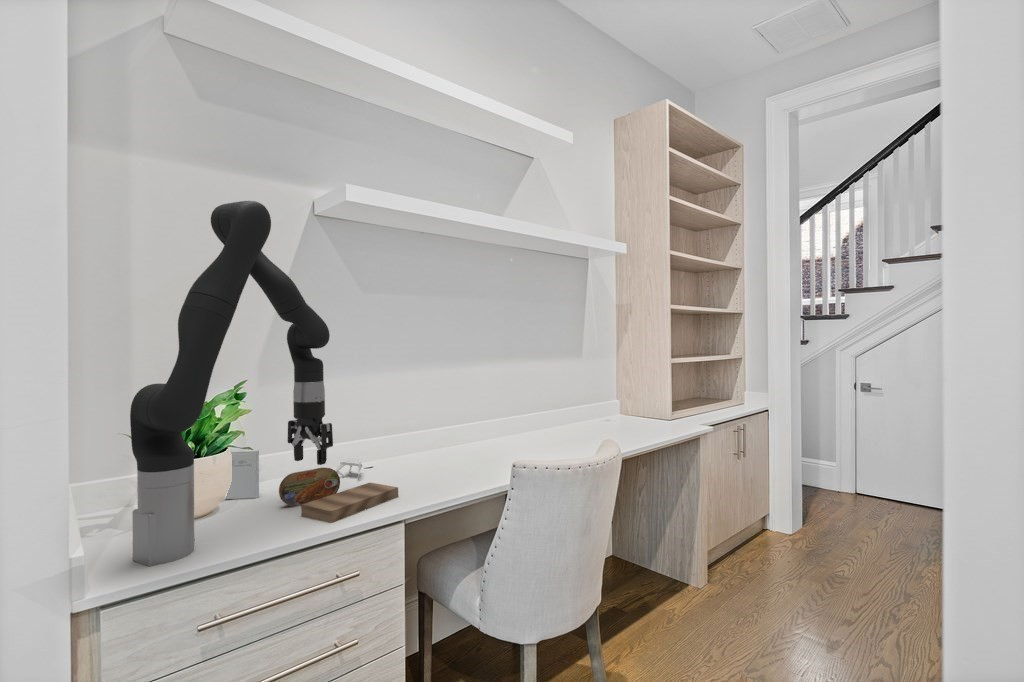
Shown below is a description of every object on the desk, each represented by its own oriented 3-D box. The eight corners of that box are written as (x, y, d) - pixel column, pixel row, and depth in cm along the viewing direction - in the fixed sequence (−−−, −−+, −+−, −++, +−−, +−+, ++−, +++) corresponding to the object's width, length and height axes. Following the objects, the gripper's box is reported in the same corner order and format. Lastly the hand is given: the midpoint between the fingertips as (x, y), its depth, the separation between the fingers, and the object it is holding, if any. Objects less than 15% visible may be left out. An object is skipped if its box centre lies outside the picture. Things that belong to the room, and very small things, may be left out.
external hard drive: (227, 497, 140) (227, 450, 140) (259, 496, 141) (259, 449, 141) (224, 499, 138) (224, 451, 138) (257, 498, 139) (256, 451, 139)
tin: (281, 510, 129) (281, 476, 129) (277, 507, 131) (277, 473, 131) (340, 497, 139) (340, 465, 139) (335, 495, 142) (335, 463, 141)
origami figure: (328, 477, 160) (328, 461, 160) (352, 472, 166) (352, 456, 166) (351, 484, 152) (351, 467, 152) (375, 478, 159) (375, 461, 159)
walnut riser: (331, 524, 119) (331, 511, 119) (301, 517, 124) (301, 504, 123) (398, 498, 138) (398, 487, 138) (370, 493, 143) (369, 482, 143)
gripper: (278, 399, 135) (279, 462, 136) (316, 402, 128) (317, 468, 129) (302, 396, 142) (303, 456, 142) (340, 398, 135) (341, 462, 135)
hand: (310, 462), depth 135 cm, fingers open, 8 cm apart
